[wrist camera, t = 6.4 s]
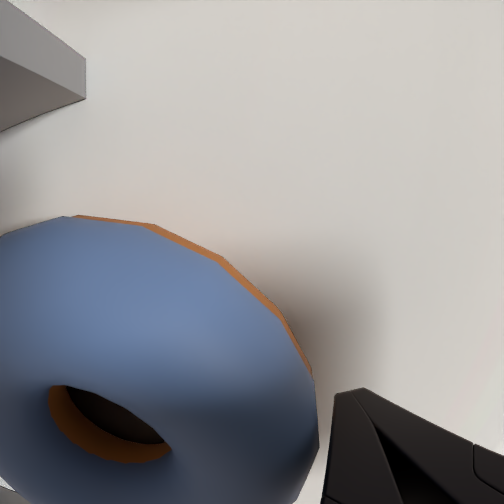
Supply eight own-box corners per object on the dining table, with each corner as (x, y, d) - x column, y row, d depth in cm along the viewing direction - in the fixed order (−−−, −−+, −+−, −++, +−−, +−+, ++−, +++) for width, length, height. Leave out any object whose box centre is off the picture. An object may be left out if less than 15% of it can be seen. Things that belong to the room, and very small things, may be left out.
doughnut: (-30, 205, 7) (-141, 251, 2) (317, 204, 8) (424, 270, 3) (42, 443, 10) (10, 523, 5) (279, 464, 11) (299, 561, 6)
